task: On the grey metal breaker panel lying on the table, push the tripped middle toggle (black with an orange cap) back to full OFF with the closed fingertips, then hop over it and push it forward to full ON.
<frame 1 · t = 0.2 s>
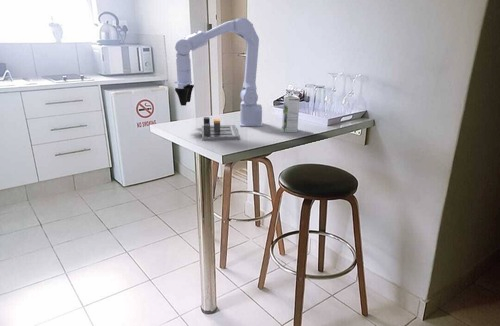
hand: (185, 103, 152), 10 cm above the table, fingers open, 7 cm apart
breaker panel: (219, 133, 146), on the table
syrup box: (289, 131, 151), on the table
tripped toggle: (216, 125, 144), point 4 cm above the table, slide at 4.0 cm
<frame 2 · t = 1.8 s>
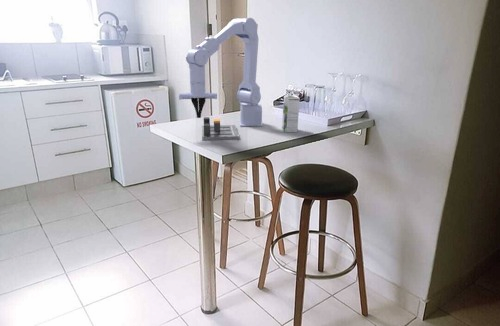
hand: (198, 117, 142), 7 cm above the table, fingers closed
nothing on the table moved.
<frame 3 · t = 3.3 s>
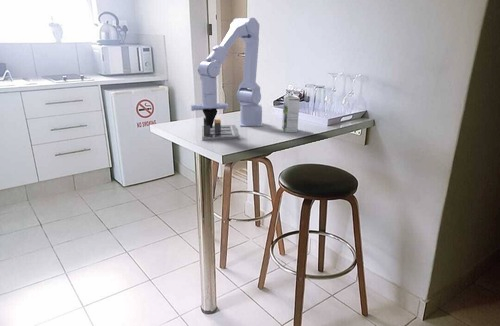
hand: (210, 127, 144), 3 cm above the table, fingers closed
tripped toggle: (217, 124, 144), point 4 cm above the table, slide at 3.7 cm, touching gripper
everything else where it was.
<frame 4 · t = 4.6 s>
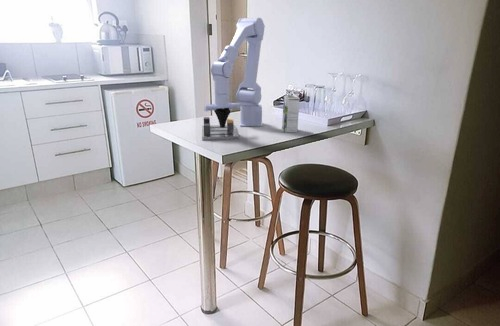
hand: (222, 127, 145), 3 cm above the table, fingers closed
tripped toggle: (230, 124, 145), point 4 cm above the table, slide at -1.3 cm, touching gripper
everything else where it was.
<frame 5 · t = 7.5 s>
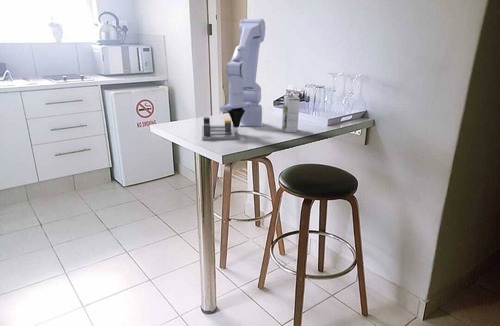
hand: (236, 127, 145), 3 cm above the table, fingers closed
tripped toggle: (227, 124, 145), point 4 cm above the table, slide at -0.4 cm, touching gripper
everything else where it was.
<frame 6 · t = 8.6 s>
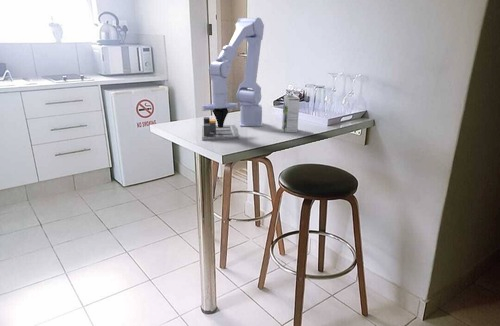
hand: (220, 127, 145), 3 cm above the table, fingers closed
tripped toggle: (212, 125, 144), point 4 cm above the table, slide at 5.7 cm, touching gripper
everything else where it was.
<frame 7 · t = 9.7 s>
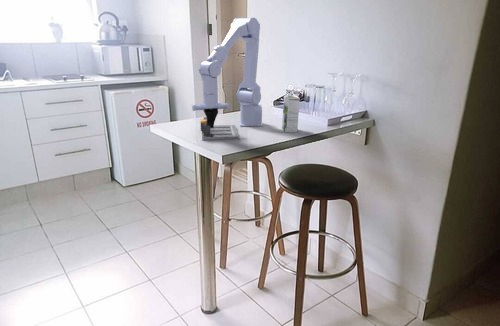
hand: (211, 127, 144), 3 cm above the table, fingers closed
tripped toggle: (203, 125, 144), point 4 cm above the table, slide at 9.2 cm, touching gripper
everything else where it was.
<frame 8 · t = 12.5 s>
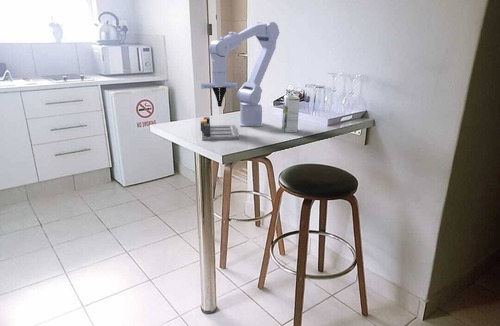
hand: (219, 106, 148), 10 cm above the table, fingers closed
tripped toggle: (203, 125, 144), point 4 cm above the table, slide at 9.2 cm
everything else where it was.
at the end: tripped toggle slide at 9.2 cm; tripped toggle touching nothing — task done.
